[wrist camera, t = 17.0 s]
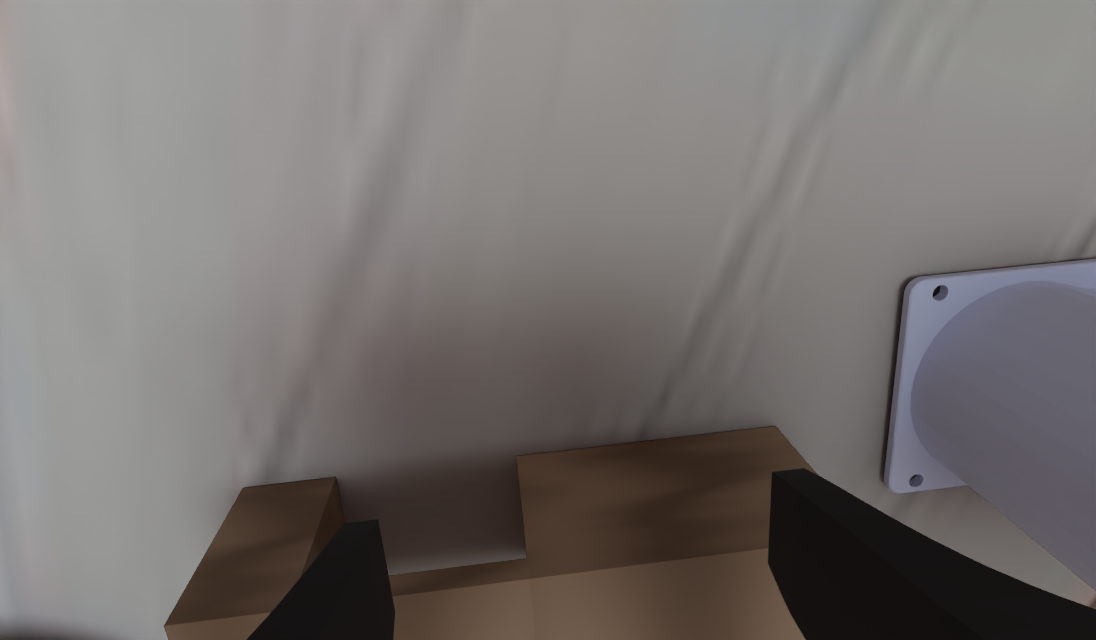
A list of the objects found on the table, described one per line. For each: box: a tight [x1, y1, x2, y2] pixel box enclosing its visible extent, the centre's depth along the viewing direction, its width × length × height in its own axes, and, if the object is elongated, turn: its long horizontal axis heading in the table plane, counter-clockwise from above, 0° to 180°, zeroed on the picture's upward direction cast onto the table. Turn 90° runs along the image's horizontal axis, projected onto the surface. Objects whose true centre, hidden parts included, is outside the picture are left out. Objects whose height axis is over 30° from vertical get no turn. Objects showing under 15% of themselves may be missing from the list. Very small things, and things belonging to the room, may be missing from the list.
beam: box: [164, 426, 817, 640], centre depth 21 cm, size 18×4×6 cm, turn 94°
